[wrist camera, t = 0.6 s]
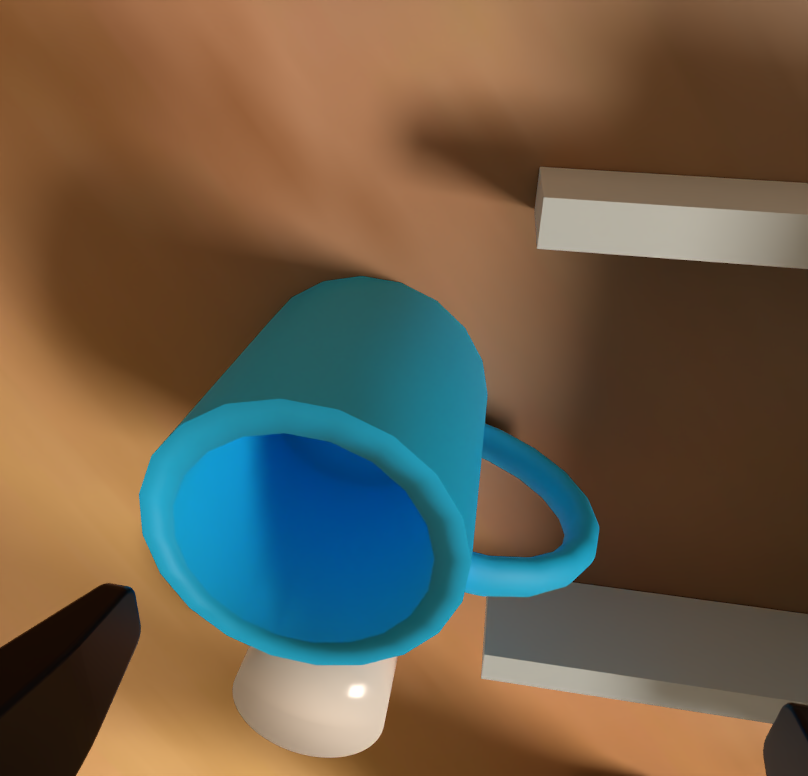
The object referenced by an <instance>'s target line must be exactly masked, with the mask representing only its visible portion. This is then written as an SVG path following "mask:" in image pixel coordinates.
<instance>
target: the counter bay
mask: <svg viewBox="0 0 808 776" xmlns="http://www.w3.org/2000/svg"><path fill="white" fill-rule="evenodd" d="M535 225H536V240H537V249H548V250H562V251H575V252H588V253H601V254H615V255H628V256H641V257H654V258H667V259H681V260H694V261H707V262H720V263H734V264H747V265H760V266H773V267H786V268H800V269H808V183H799V182H783V181H766V180H750V179H733V178H717V177H700V176H684V175H667V174H651V173H634V172H618V171H601V170H585V169H569V168H552V167H540V169H539V177H538V185H537V193H536V201H535ZM481 679H488V680H494V681H501V682H507V683H514V684H520V685H527V686H533V687H540V688H546V689H552V690H559V691H565V692H572V693H578V694H585V695H591V696H598V697H604V698H610V699H617V700H623V701H630V702H636V703H643V704H649V705H656V706H662V707H669V708H675V709H681V710H688V711H694V712H701V713H707V714H714V715H720V716H727V717H733V718H739V719H746V720H752V721H759V722H765V723H772V724H773V723H774V722H775V720H776V718H777V716H778V714H779V712H780V710H781V708H782V707H783V705H785V704H787V703H789V702H793V703H799V704H804V705H808V614H804V613H796V612H789V611H781V610H774V609H767V608H759V607H752V606H744V605H737V604H730V603H722V602H715V601H707V600H700V599H693V598H685V597H678V596H670V595H663V594H656V593H648V592H641V591H633V590H626V589H619V588H611V587H604V586H596V585H589V584H582V583H574V582H572V583H570V584H569V585H567V586H566V587H562V588H559V589H555V590H552V591H548V592H545V593H541V594H538V595H534V596H530V597H492V596H486V611H485V626H484V642H483V657H482V673H481Z"/></svg>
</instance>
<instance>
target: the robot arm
mask: <svg viewBox="0 0 808 776" xmlns="http://www.w3.org/2000/svg"><path fill="white" fill-rule="evenodd" d="M140 632H141V625H140V619H139V613H138V607H137V602H136V596H135V592H134V591H133V589H132V588H131V587H128V586H123V585H117V584H111V583H106V584H102V585H100V586H98V587H97V588H95V589H93V590H92V591H90V592H89V593H87V594H85V595H84V596H82V597H80V598H79V599H77V600H76V601H74V602H72V603H71V604H69V605H68V606H66V607H64V608H63V609H61V610H60V611H58V612H56V613H55V614H53V615H52V616H50V617H48V618H47V619H45V620H44V621H42V622H40V623H39V624H37V625H36V626H34V627H32V628H31V629H29V630H28V631H26V632H24V633H23V634H21V635H20V636H18V637H16V638H15V639H13V640H12V641H10V642H8V643H7V644H5V645H4V646H2V647H0V776H76V775H77V773H78V771H79V769H80V768H81V766H82V764H83V762H84V760H85V758H86V756H87V755H88V753H89V751H90V749H91V747H92V745H93V743H94V741H95V739H96V737H97V734H98V732H99V730H100V728H101V726H102V723H103V721H104V719H105V717H106V714H107V712H108V710H109V707H110V705H111V703H112V701H113V698H114V696H115V694H116V692H117V689H118V687H119V685H120V682H121V680H122V678H123V676H124V673H125V671H126V669H127V666H128V664H129V662H130V660H131V657H132V655H133V653H134V651H135V648H136V646H137V644H138V641H139V637H140ZM763 755H764V763H765V769H766V775H767V776H808V705H804V704H799V703H793V702H789V703H787V704H785V705H783V707H782V708H781V710H780V712H779V714H778V716H777V718H776V720H775V722H774V723H773V725H772V727H771V729H770V731H769V733H768V735H767V737H766V739H765V742H764V749H763Z"/></svg>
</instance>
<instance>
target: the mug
mask: <svg viewBox="0 0 808 776" xmlns="http://www.w3.org/2000/svg"><path fill="white" fill-rule="evenodd" d="M487 396H488V394H487V388H486V381H485V374H484V368H483V361H482V359H481V357H480V355H479V353H478V351H477V350H476V348H475V346H474V344H473V342H472V340H471V338H470V336H469V334H468V333H467V331H466V329H465V328H464V327H463V326H462V325H461V324H460V323H459V322H458V321H457V320H456V319H455V318H454V317H453V316H452V315H451V314H450V313H449V312H448V311H447V310H446V309H445V308H444V307H443V306H442V305H441V304H440V303H439V302H438V301H436V300H434V299H432V298H430V297H428V296H426V295H424V294H422V293H420V292H418V291H416V290H414V289H412V288H410V287H408V286H406V285H404V284H402V283H400V282H394V281H388V280H382V279H377V278H371V277H365V276H357V277H350V278H343V279H336V280H328V281H323V282H321V283H319V284H317V285H315V286H313V287H311V288H309V289H307V290H305V291H303V292H301V293H299V294H297V295H295V296H293V297H292V298H291V299H290V300H289V301H288V302H287V303H286V304H285V305H284V306H283V307H282V308H281V310H280V311H279V312H278V313H277V314H276V315H275V316H274V317H273V318H272V319H271V320H270V321H269V323H268V324H267V325H266V326H265V327H264V328H263V329H262V331H261V332H260V333H259V334H258V335H257V336H256V337H255V339H254V340H253V341H252V342H251V343H250V344H249V345H248V347H247V348H246V349H245V350H244V351H243V352H242V353H241V354H240V356H239V357H238V358H237V359H236V360H235V361H234V362H233V364H232V365H231V366H230V367H229V368H228V369H227V370H226V372H225V373H224V374H223V375H222V376H221V377H220V378H219V380H218V381H217V382H216V383H215V384H214V385H213V386H212V388H211V389H210V390H209V391H208V392H207V393H206V394H205V396H204V397H203V398H202V399H201V400H200V401H199V402H198V404H197V405H196V406H195V407H194V408H193V409H192V410H191V411H190V413H189V414H188V415H187V416H186V417H185V418H184V419H183V421H182V422H181V423H180V424H179V425H178V426H177V427H176V429H175V430H174V431H173V432H172V433H171V434H170V435H169V437H168V438H167V439H166V440H165V441H164V442H163V443H162V445H161V446H160V447H159V448H158V449H157V450H156V451H155V453H154V454H153V455H152V456H151V459H150V462H149V465H148V468H147V471H146V474H145V477H144V481H143V484H142V487H141V490H140V493H139V499H140V511H141V522H142V533H143V536H144V539H145V541H146V543H147V545H148V547H149V550H150V552H151V554H152V556H153V558H154V561H155V563H156V565H157V567H158V569H159V571H160V574H161V575H162V576H163V577H164V578H165V579H166V581H167V582H168V583H169V584H170V585H171V587H172V588H173V589H174V590H175V591H176V592H177V594H178V595H179V596H180V597H181V598H182V599H183V601H184V602H185V603H186V604H187V605H188V607H189V608H190V609H192V610H193V611H195V612H196V613H197V614H199V615H200V616H201V617H203V618H204V619H205V620H207V621H208V622H209V623H211V624H212V625H214V626H215V627H216V628H218V629H219V630H220V631H222V632H223V633H224V634H226V635H227V636H229V637H231V638H234V639H236V640H238V641H240V642H243V643H245V644H247V645H249V646H251V647H254V648H256V649H258V650H260V651H263V652H265V653H267V654H269V655H272V656H277V657H281V658H286V659H290V660H295V661H299V662H304V663H308V664H313V665H365V664H369V663H373V662H377V661H381V660H384V659H388V658H392V657H396V656H400V655H404V654H406V653H407V652H409V651H410V650H412V649H414V648H415V647H417V646H418V645H420V644H422V643H423V642H425V641H427V640H428V639H430V638H431V637H433V636H435V635H436V634H438V633H439V632H440V631H441V629H442V628H443V627H444V625H445V624H446V623H447V621H448V620H449V619H450V617H451V616H452V615H453V613H454V612H455V611H456V609H457V608H458V607H459V605H460V604H461V603H462V601H463V597H464V592H466V593H470V594H474V595H479V596H492V597H530V596H534V595H538V594H541V593H545V592H548V591H552V590H555V589H559V588H562V587H566V586H567V585H569V584H570V583H572V582H573V581H574V580H575V579H576V578H577V577H578V576H579V575H580V574H581V573H582V572H583V571H584V570H585V569H586V568H587V567H589V566H590V564H591V563H592V562H593V561H594V558H595V556H596V549H597V543H598V536H599V524H598V522H597V519H596V517H595V514H594V512H593V509H592V507H591V504H590V502H589V500H588V498H587V496H586V495H585V494H584V493H583V492H582V491H581V489H580V488H579V487H578V486H577V485H576V484H575V483H574V481H573V480H572V479H571V478H570V477H569V476H568V474H567V473H566V472H565V471H564V470H562V469H561V468H560V467H558V466H557V465H556V464H555V463H553V462H552V461H551V460H549V459H548V458H547V457H546V456H544V455H543V454H542V453H540V452H539V451H538V450H537V449H535V448H533V447H531V446H529V445H528V444H526V443H524V442H522V441H521V440H519V439H517V438H515V437H513V436H512V435H510V434H508V433H506V432H504V431H503V430H500V429H498V428H495V427H493V426H490V425H488V424H486V423H485V417H486V406H487ZM481 458H483V459H486V460H488V461H490V462H491V463H493V464H495V465H496V466H498V467H500V468H502V469H503V470H505V471H507V472H509V473H510V474H512V475H514V476H515V477H517V478H519V479H520V480H521V481H522V482H524V483H525V484H526V485H527V486H528V487H530V488H531V489H532V490H533V491H535V492H536V493H537V494H538V495H539V496H541V497H542V498H543V499H544V501H545V502H546V503H547V504H548V506H549V507H550V508H551V510H552V511H553V512H554V513H555V515H556V516H557V517H558V518H559V520H560V523H561V526H562V529H563V532H564V540H563V544H562V545H561V546H560V547H558V548H557V549H556V550H555V551H554V552H550V553H545V554H541V555H537V556H533V557H508V556H489V555H485V554H480V553H476V552H473V541H474V531H475V521H476V510H477V500H478V489H479V479H480V469H481Z"/></svg>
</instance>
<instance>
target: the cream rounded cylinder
mask: <svg viewBox="0 0 808 776" xmlns="http://www.w3.org/2000/svg"><path fill="white" fill-rule="evenodd" d="M397 658H398V656H396V657H392V658H388V659H384V660H381V661H377V662H373V663H369V664H365V665H313V664H308V663H304V662H299V661H295V660H290V659H286V658H281V657H277V656H272V655H269V654H267V653H265V652H263V651H260V650H258V649H256V648H254V647H251V646H249V648H248V650H247V653H246V655H245V657H244V659H243V662H242V664H241V666H240V668H239V671H238V673H237V675H236V678H235V680H234V683H233V698H234V703H235V705H236V707H237V710H238V711H239V713H240V715H241V716H242V718H243V719H244V720H245V721H246V723H247V724H248V725H249V726H250V727H251V728H252V729H253V730H255V731H256V732H257V733H258V734H260V735H261V736H262V737H264V738H265V739H267V740H269V741H270V742H272V743H274V744H276V745H278V746H280V747H282V748H284V749H287V750H290V751H292V752H296V753H299V754H303V755H308V756H314V757H324V758H335V757H344V756H349V755H353V754H356V753H359V752H362V751H363V750H365V749H367V748H369V747H370V746H371V745H373V744H374V743H375V742H376V741H377V739H378V738H379V737H380V735H381V733H382V730H383V728H384V723H385V718H386V713H387V708H388V703H389V698H390V693H391V688H392V683H393V678H394V673H395V668H396V663H397Z"/></svg>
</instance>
